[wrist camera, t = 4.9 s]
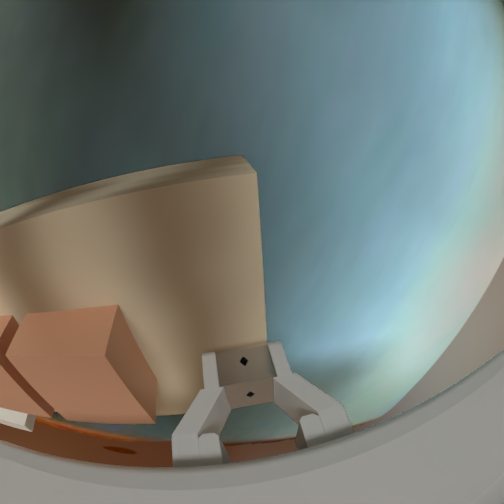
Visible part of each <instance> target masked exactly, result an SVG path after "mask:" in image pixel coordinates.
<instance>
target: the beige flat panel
mask: <svg viewBox="0 0 504 504" xmlns="http://www.w3.org/2000/svg"><path fill="white" fill-rule="evenodd" d="M117 304H118V305H119V308H120V310H121V312H122V314H123V316H124V318H125V321H126V323H127V325H128V327H129V329H130V331H131V333H132V335H133V337H134V339H135V341H136V343H137V345H138V346H139V348H140V350H141V352H142V354H143V356H144V358H145V360H146V361H147V363H148V365H149V367H150V368H151V370H152V372H153V374H154V375H155V377H156V379H157V393H156V416H160V415H177V414H185V413H186V412H187V410H188V409H189V407H190V406H191V404H192V402H193V401H194V399H195V398H196V396H197V394H198V393H199V391H200V389H204V380H203V368H202V353H208V352H215V351H223V350H231V349H238V348H242V347H247V346H252V345H257V344H262V343H267V330H266V312H265V294H264V277H263V260H262V244H261V228H260V213H259V198H258V183H257V173H256V171H255V170H254V169H253V168H252V166H251V165H250V164H249V163H248V162H247V160H246V159H245V158H244V157H243V155H236V156H228V157H220V158H213V159H206V160H199V161H192V162H186V163H180V164H174V165H169V166H163V167H158V168H153V169H148V170H143V171H138V172H133V173H129V174H124V175H120V176H116V177H112V178H107V179H103V180H99V181H96V182H92V183H88V184H84V185H81V186H77V187H73V188H70V189H67V190H63V191H60V192H57V193H53V194H50V195H47V196H44V197H41V198H38V199H35V200H32V201H29V202H26V203H23V204H21V205H18V206H15V207H12V208H10V209H7V210H4V211H2V212H0V316H5V315H13V316H14V318H15V320H16V321H17V323H18V324H19V326H20V324H21V322H22V320H23V318H24V316H25V314H30V313H42V312H53V311H63V310H73V309H82V308H91V307H100V306H109V305H117ZM54 412H57V411H56V410H55V409H54Z"/></svg>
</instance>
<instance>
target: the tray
mask: <svg viewBox="0 0 504 504" xmlns="http://www.w3.org/2000/svg"><path fill="white" fill-rule="evenodd" d="M35 418H36V415H32V414H27V413H22V412H17V411H13V410H8V409H4V408H0V423H2V424H5V425H8V426H12V427H15V428H19V429H23V430H27V431H31V432H32V431H33V426H34V422H35Z"/></svg>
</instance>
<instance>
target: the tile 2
mask: <svg viewBox="0 0 504 504" xmlns="http://www.w3.org/2000/svg"><path fill="white" fill-rule="evenodd" d="M5 356H6V357H7V358H8V359H9V361H10V362H11V363H12V364H13V366H14V367H15V368H16V369H17V370H18V372H19V373H20V374H21V375H22V376H23V377H24V378H25V379H26V381H27V382H28V383H29V384H30V385H31V386H32V387H33V388H34V389H35V390H36V391H37V392H38V393H39V394H40V395H41V396H42V397H43V398H44V399H45V400H46V401H47V402H48V403H49V404H50V405H51V406H52V407H53V408H54V409H55V410H56V411H57V412H58V413H59V414H60V415H61V416H63V417H64V418H65V419H66V420H72V421H82V422H94V423H113V424H156V393H157V379H156V377H155V375H154V374H153V372H152V370H151V368H150V367H149V365H148V363H147V361H146V360H145V358H144V356H143V354H142V352H141V350H140V348H139V346H138V345H137V343H136V341H135V339H134V337H133V335H132V333H131V331H130V329H129V327H128V325H127V323H126V321H125V318H124V316H123V314H122V312H121V310H120V308H119V305H118V304H117V305H109V306H100V307H91V308H82V309H73V310H63V311H53V312H42V313H30V314H25V316H24V318H23V320H22V322H21V324H20V326H19V328H18V330H17V332H16V334H15V336H14V338H13V340H12V342H11V344H10V346H9V348H8V350H7V352H6V355H5Z"/></svg>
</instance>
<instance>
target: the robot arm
mask: <svg viewBox="0 0 504 504" xmlns="http://www.w3.org/2000/svg"><path fill="white" fill-rule="evenodd" d="M503 2H504V0H503ZM202 368H203V380H204V389H200V391H199V393H198V394H197V396H196V398H195V399H194V401H193V402H192V404H191V406H190V407H189V409H188V410H187V412H186V413H185V415H184V417H183V418H182V420H181V421H180V423H179V424H178V426H177V428H176V429H175V431H174V432H173V434H172V453H173V454H172V455H173V467H167V468H166V467H165V468H164V467H162V468H161V467H159V468H158V467H131V466H117V465H108V464H99V463H92V462H85V461H79V460H73V459H68V458H63V457H58V456H53V455H50V454H46V453H41V452H38V451H34V450H30V449H27V448H24V447H20V446H17V445H14V444H12V443H9V442H6V441H2V440H0V504H504V350H503V351H500V352H499V353H497V354H496V355H495V356H493V357H492V358H491V359H490V360H488V361H487V362H485V363H484V364H483V365H481V366H480V367H479V368H477V369H476V370H474V371H473V372H471V373H470V374H468V375H467V376H466V377H464V378H463V379H461V380H459V381H458V382H456V383H455V384H453V385H452V386H450V387H448V388H447V389H445V390H443V391H442V392H440V393H438V394H436V395H435V396H433V397H431V398H429V399H428V400H426V401H424V402H422V403H420V404H418V405H416V406H414V407H412V408H410V409H408V410H406V411H404V412H402V413H400V414H398V415H396V416H394V417H391V418H389V419H387V420H385V421H382V422H380V423H378V424H375V425H373V426H370V427H368V428H366V429H363V430H360V431H358V432H354V430H353V428H352V426H351V423H350V421H349V419H348V416H347V414H346V412H345V409H344V407H343V405H342V404H341V403H340V402H338V401H337V400H335V399H334V398H332V397H331V396H329V395H328V394H326V393H325V392H323V391H322V390H320V389H319V388H317V387H316V386H314V385H313V384H311V383H310V382H308V381H307V380H306V379H304V378H303V377H301V376H300V375H298V374H297V373H292V372H291V369H290V366H289V363H288V360H287V357H286V355H285V352H284V349H283V346H282V343H281V342H280V340H279V341H274V342H269V343H262V344H257V345H252V346H247V347H242V348H238V349H231V350H223V351H215V352H208V353H202ZM268 402H274V403H275V404H276V405H277V406H278V407H279V408H280V409H282V410H283V411H284V412H285V413H286V414H287V415H288V416H289V417H291V418H292V419H293V420H294V421H295V422H296V423H297V424H299V426H298V431H297V436H296V441H295V443H296V446H297V451H293V452H289V453H284V454H280V455H275V456H271V457H265V458H260V459H255V460H248V461H243V462H235V463H230V459H229V455H228V453H227V451H226V449H225V447H224V445H223V443H222V441H221V440H220V438H219V436H220V434H221V431H222V429H223V427H224V425H225V423H226V421H227V418H228V416H229V414H230V412H231V409H235V408H240V407H246V406H251V405H257V404H263V403H268Z"/></svg>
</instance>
